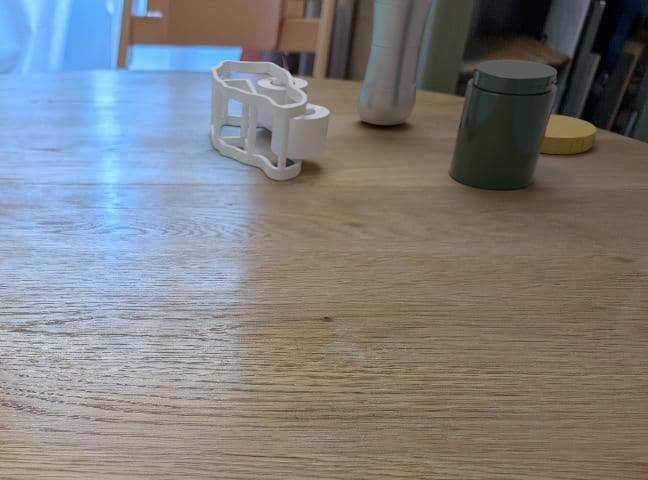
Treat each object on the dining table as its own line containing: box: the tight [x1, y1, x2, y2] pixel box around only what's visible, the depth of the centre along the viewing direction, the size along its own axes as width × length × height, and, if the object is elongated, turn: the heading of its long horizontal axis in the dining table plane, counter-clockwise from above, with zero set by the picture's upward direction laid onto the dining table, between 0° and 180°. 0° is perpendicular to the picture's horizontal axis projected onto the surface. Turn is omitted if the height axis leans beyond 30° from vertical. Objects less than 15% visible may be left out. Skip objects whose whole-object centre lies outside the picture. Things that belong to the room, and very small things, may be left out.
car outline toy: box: [209, 59, 331, 182], centre depth 93 cm, size 20×11×7 cm, turn 1°
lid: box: [540, 113, 597, 155], centre depth 94 cm, size 9×9×2 cm
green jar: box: [448, 59, 558, 191], centre depth 84 cm, size 8×8×10 cm
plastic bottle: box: [356, 0, 433, 126], centre depth 96 cm, size 6×7×20 cm
